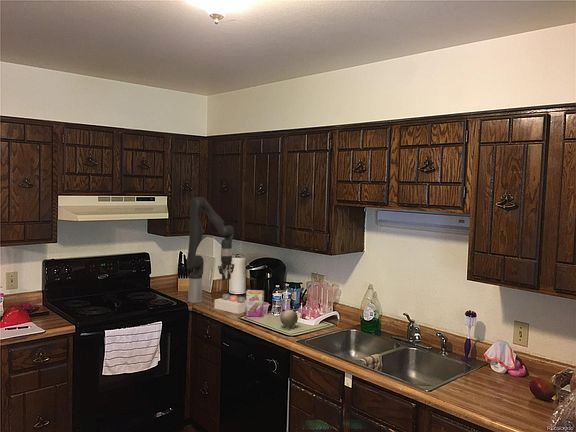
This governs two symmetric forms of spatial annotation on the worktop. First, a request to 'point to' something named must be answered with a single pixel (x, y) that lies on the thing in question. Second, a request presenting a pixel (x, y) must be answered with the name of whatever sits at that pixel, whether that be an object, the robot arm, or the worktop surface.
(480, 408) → the worktop surface
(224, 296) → the grey button
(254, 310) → the candy bar box
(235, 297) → the terracotta button
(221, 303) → the control panel
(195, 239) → the robot arm
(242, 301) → the grey button
